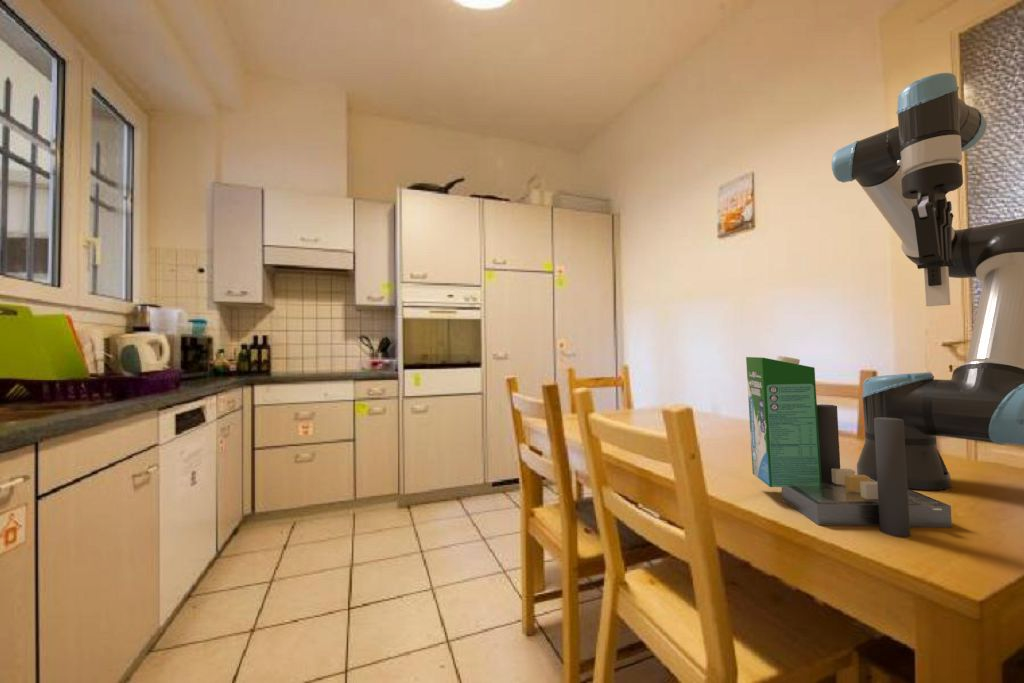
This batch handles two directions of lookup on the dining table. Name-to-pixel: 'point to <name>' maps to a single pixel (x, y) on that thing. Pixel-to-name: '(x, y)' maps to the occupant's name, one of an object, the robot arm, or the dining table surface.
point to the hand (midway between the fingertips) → (938, 305)
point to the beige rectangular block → (869, 490)
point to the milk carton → (783, 422)
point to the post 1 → (828, 440)
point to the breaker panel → (860, 506)
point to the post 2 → (892, 476)
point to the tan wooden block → (855, 481)
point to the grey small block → (840, 475)
